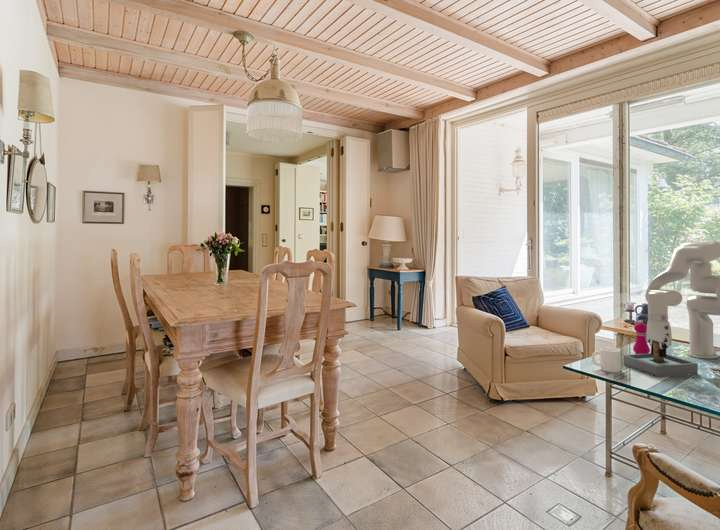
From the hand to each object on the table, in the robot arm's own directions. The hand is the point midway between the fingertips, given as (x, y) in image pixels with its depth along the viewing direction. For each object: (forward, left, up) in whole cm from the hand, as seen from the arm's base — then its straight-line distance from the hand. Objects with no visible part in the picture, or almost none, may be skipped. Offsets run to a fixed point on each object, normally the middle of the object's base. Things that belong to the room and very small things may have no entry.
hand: (658, 355), depth 190 cm
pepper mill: (-7, -19, -7) cm, 21 cm away
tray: (0, 0, -7) cm, 7 cm away
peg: (0, 0, -4) cm, 4 cm away
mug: (+23, -5, -7) cm, 25 cm away
